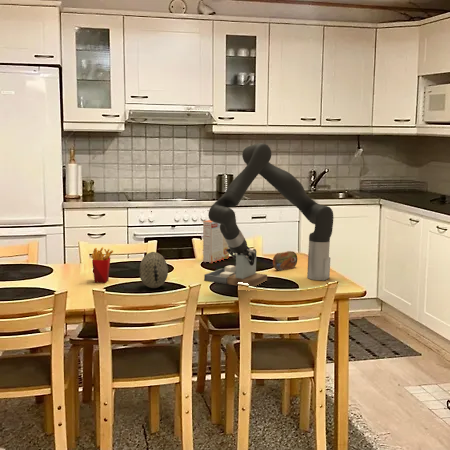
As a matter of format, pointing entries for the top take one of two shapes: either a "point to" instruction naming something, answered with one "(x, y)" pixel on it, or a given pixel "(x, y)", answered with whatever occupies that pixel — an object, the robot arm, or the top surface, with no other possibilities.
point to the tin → (285, 260)
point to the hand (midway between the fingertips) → (248, 263)
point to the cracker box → (213, 243)
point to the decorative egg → (153, 270)
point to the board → (248, 279)
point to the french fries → (101, 265)
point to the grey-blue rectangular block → (244, 267)
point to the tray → (216, 276)
